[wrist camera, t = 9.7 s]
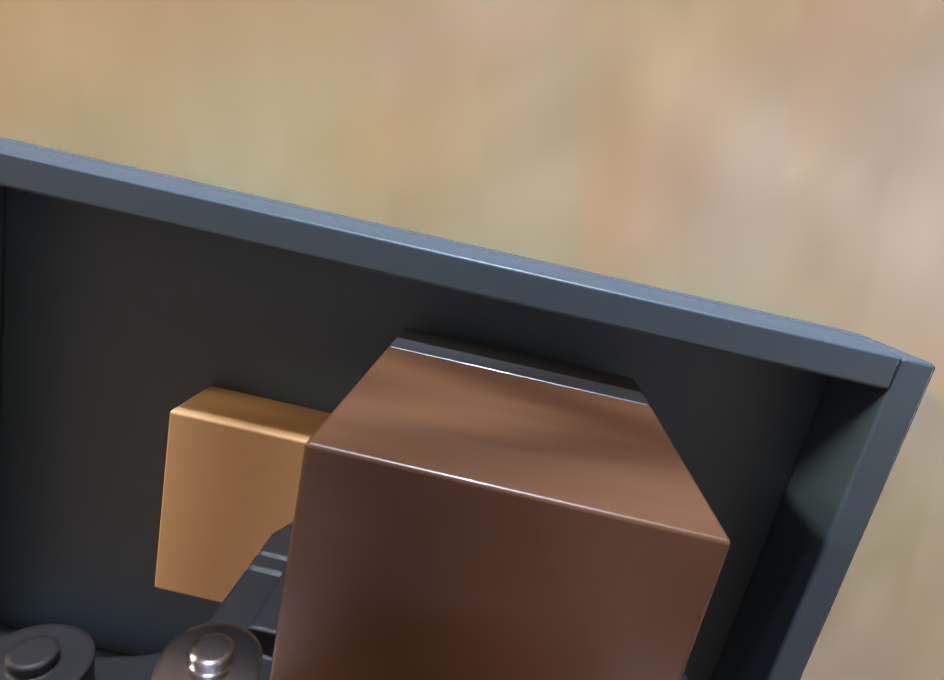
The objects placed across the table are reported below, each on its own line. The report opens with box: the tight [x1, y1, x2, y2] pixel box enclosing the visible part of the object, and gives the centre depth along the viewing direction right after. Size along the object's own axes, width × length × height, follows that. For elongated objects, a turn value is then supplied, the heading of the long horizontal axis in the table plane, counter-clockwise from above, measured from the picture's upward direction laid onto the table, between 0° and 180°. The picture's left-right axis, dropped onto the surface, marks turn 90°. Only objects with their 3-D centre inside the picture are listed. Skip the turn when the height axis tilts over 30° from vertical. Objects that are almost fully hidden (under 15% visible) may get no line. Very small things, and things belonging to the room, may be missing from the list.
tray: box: [0, 137, 935, 680], centre depth 13 cm, size 18×12×2 cm
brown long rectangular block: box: [269, 327, 730, 680], centre depth 10 cm, size 4×9×6 cm, turn 168°
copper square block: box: [155, 386, 331, 603], centre depth 13 cm, size 4×4×2 cm
